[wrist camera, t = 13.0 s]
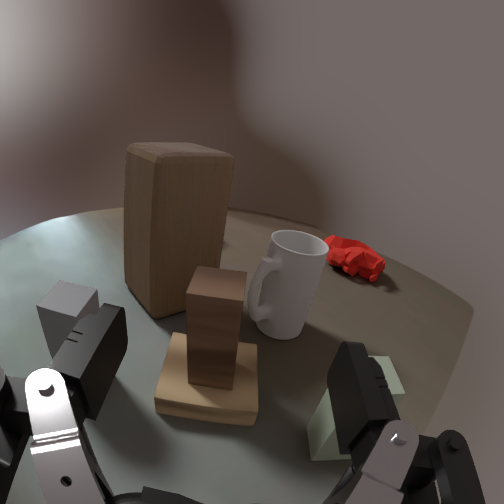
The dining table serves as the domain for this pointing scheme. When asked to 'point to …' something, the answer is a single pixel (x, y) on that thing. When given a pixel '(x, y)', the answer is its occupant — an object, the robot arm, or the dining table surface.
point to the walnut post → (213, 325)
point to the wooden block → (172, 219)
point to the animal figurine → (354, 257)
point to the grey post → (65, 311)
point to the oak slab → (208, 388)
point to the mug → (286, 283)
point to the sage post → (322, 420)
